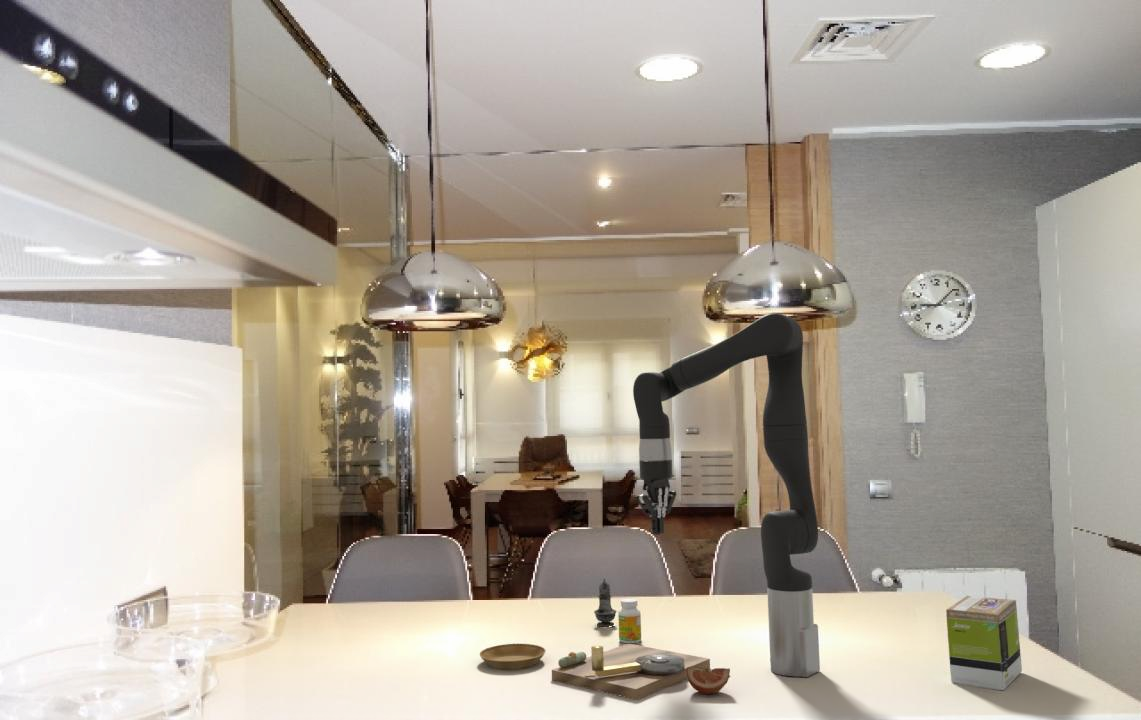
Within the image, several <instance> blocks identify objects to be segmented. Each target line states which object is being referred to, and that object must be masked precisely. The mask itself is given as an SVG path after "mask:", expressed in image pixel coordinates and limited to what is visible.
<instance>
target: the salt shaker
mask: <svg viewBox="0 0 1141 720" xmlns="http://www.w3.org/2000/svg"><path fill="white" fill-rule="evenodd" d="M598 591H599V593H598V594H599V595H598V596H597V598H598V600H599V601H598V602H599V605H598V608H597V609H596V610H594V611H593V613H594V615H595V618H596V620H597V621H598V622H597V623H596V624H597V626H598V627H597V628H600V627H609V626H613V625H614V623H615V622H612V621H614V619H615V617H616V613H617V610H616V609H614V608H612V603H611V602H612V601H611V600H612V599H611V598H612V595H611V586H610V584H609V583H608V582H607V581H606V579H605V578H603V580H602V582H601V583H599V585H598Z"/></svg>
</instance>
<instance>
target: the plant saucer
mask: <svg viewBox="0 0 1141 720" xmlns="http://www.w3.org/2000/svg"><path fill="white" fill-rule="evenodd" d="M546 652H547V651H546V648H545V647H542V646H540V645H537V644H531V643H508V644H507V643H505V644H499V645H494V646H490V647H487V648H484V649H482V650H481V651H480V652H479V656H480V658H481V660H482V661H484V663H486V664H487V665H488V666H489V667H490V668H492V669H498V670H521V669H527V668H530V667H533V666H535V665H536V664H538V663H539V662H540V660H541V659H542V658H543V657H544V655H545V653H546Z"/></svg>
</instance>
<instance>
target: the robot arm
mask: <svg viewBox="0 0 1141 720" xmlns="http://www.w3.org/2000/svg"><path fill="white" fill-rule="evenodd" d="M803 335H804V333H803V330H802V328H801V325H800V324H799V322H797V320H795V319H794V318H792V317H790V316H788V315H786V314H782V313H779V312H778V313H777V312H771V313H768V314H767V313H766V314H765V315H763V316H761V317H760V318H758V319H756V320H755V321H753V322H752V323H750V324H749V325H747V326H746V327H744V328H743V329H741V330H739V331H738V332H736V333H734V334H733V335H730V336H729V337H727V338H725V339H723V340H721V341H719V342H717V343H715V344H712V345H710V346H707V347H705V348H703V349H701V350H699V351H698V350H697V352H693V353H691V354H689V355H687V356H685V357H682V358H680V359H678V360H676V361H674V362H673V363H672V364H671V366H669V367H667V368H665V369H663V370H660V371H644V372H641V373H640V374H639V375H637V376H636V378H635V380H634V383H633V389H632V392H633V393H632V395H633V396H632V397H633V400H634V404H635V410H636V413H637V416H638V421H639V422H638V423H639V426H638V427H639V445H638V458H639V460H638V461H639V462H638V463H639V465H638V466H639V477H640V478H639V479H640V480H643V485H642V492H641V494H637V495H636V501H637V502H638V504H639V506H640V508H641V510H642V512H643V514H644V515H645V516H647V517H649V518H651V519H650V520H651V531H652V532H651V533H652V534H653V535H658V536H659V535H663V534H664V533H665V517H666V515H669V514H670V512H671V510H672V508H673V505H674V503H675V500H676V499H675V498H676V497H677V491H676V490H675V491H674V490H672V489H671V484H670V480H671V479H672V478H673V456H672V455H673V453H672V443H671V429H670V427H671V425H670V418H669V416H668V415H667V414H666V413H665V412H664V409H663V402H665V401H668V400H670V399H673V398H674V397H676V396H678V395H680V394H682V393H683V392H684V391H686V390H688V389H691V388H695V387H696V386H700V385H702V384H704V383H706V382H709V381H711V380H713V379H715V378H717V377H719V376H720V375H723V374H724V373H725V372H727V371H728V370H730V369H731V368H733V367H734V366H736V365H738V364H741V363H743V362H746V361H748V360H752V359H753V360H754V359H756V358H761V357H764V356H766V362H767V371H768V387H767V388H768V389H767V393H766V398H765V402H764V407H763V415H762V426H763V427H762V432H763V433H762V434H763V445H764V450H765V453H766V456H767V457H768V458H769V460H770V462H771V464H772V466H773V467H774V468H775V470H776V471H777V472H778V474H779V476H780V477H781V479H782V481H783V482H784V485H785V487H786V488H785V489H786V491H787V495H788V500H789V509H788V510H776V511H769V512H767V513H766V514H765V515H764V517H762V521H761V525H760V539H761V552H762V559H763V560H762V562H763V570H764V575H765V579H766V584H767V588H766V589H767V591H766V592H767V610H768V611H767V612H768V613H767V614H768V632H769V633H768V634H769V636H768V637H769V639H768V640H769V641H768V642H769V656H770V658H769V661H770V671H771V672H773V674H777V675H781V676H785V677H802V678H803V677H804V678H808V677H810V676H813V675H814V674H817V673H818V672H820V671H821V664H820V661H821V660H820V645H819V644H820V643H819V641H820V640H819V626H818V624H817V623H815V622H814V620H815V619H814V618H815V617H814V600H813V596H814V595H813V577H812V575H811V574H810V573H809V572H808V571H804V570H802V569H797V568H796V567H794V565H792V560H791V555H792V556H793V555H802V554H808V553H811V552H813V551H814V550H815V549H816V548H817V545H818V541H819V525H818V517H817V511H816V510H817V509H816V505H815V500H814V493H813V488H812V480H811V470H810V469H811V468H810V459H809V436H808V435H809V433H808V423H807V422H808V421H807V413H806V400H805V393H804V386H803V385H804V384H803V352H804V350H803V347H804V336H803Z"/></svg>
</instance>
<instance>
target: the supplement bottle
mask: <svg viewBox="0 0 1141 720" xmlns="http://www.w3.org/2000/svg"><path fill="white" fill-rule="evenodd" d="M638 605H639V604H638V599H636V598H623V599H621V600H620V606H621V608H620V609H619V610H618V638H619V639H618V640H619V642H620V641H621V643H622V642H624V643H623V644H636V643H635V642H638V643H640V642H641V641H642V615H641V610H640V609H639V608H637V607H638ZM639 641H640V642H639Z"/></svg>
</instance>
